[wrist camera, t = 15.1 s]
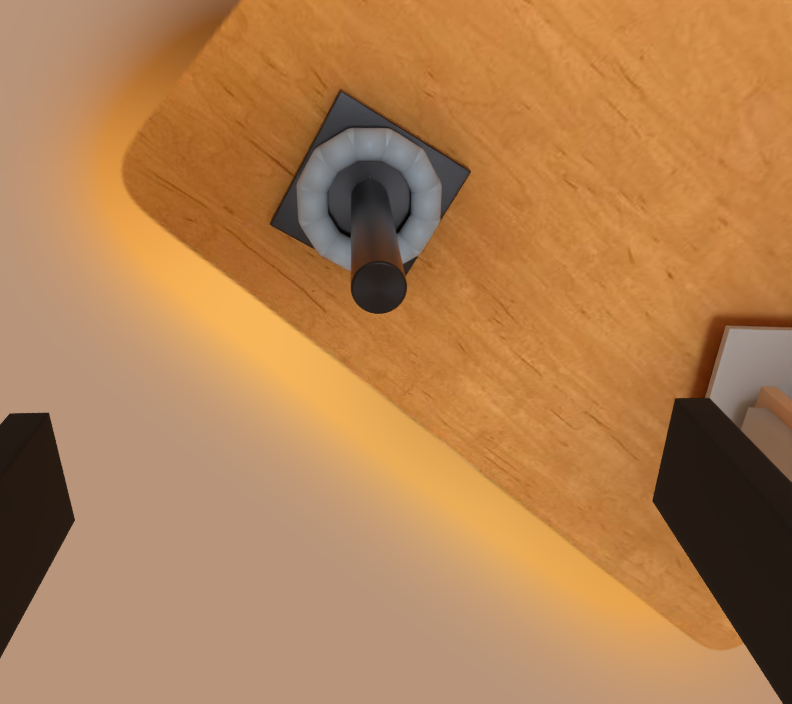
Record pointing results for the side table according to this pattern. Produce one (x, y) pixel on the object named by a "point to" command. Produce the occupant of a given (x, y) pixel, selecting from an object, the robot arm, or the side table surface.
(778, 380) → the desk lamp
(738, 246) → the side table surface
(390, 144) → the ring
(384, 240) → the post
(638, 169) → the side table surface
